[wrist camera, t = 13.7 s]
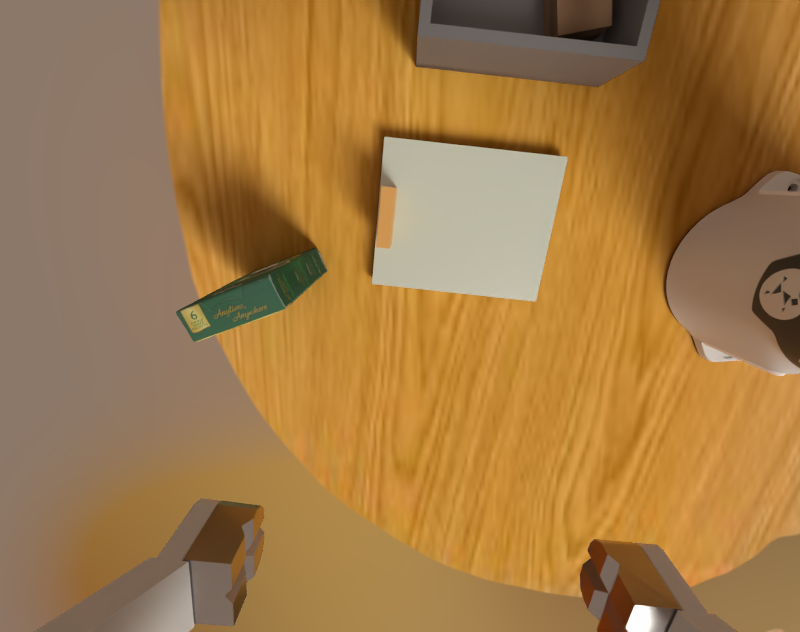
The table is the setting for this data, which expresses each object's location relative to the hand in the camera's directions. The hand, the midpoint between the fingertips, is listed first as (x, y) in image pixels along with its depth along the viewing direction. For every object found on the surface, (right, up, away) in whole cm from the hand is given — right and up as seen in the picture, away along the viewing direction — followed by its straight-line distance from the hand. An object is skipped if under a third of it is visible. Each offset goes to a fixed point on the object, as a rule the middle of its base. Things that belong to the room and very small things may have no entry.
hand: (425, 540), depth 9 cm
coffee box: (-12, +10, +30) cm, 34 cm away
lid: (+5, +15, +27) cm, 32 cm away
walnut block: (+13, +30, +22) cm, 39 cm away
